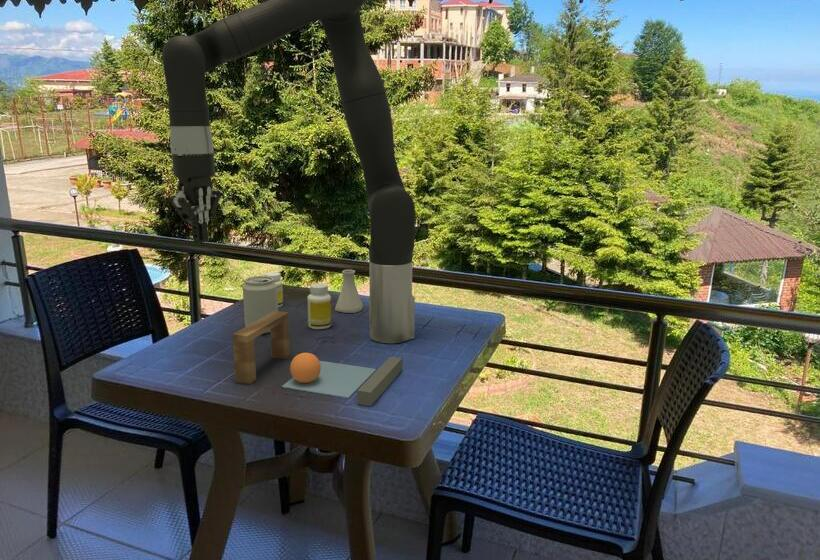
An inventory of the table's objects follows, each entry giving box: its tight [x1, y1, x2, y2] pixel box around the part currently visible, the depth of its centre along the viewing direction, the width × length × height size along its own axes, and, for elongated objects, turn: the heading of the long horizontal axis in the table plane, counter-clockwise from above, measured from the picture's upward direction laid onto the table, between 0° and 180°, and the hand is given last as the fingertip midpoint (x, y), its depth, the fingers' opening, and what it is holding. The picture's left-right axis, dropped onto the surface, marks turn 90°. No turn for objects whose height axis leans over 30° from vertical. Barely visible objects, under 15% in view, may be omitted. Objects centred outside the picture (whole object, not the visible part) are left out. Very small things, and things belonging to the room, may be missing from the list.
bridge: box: [232, 310, 291, 385], centre depth 115 cm, size 3×14×9 cm, turn 161°
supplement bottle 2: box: [306, 282, 333, 330], centre depth 139 cm, size 5×5×10 cm
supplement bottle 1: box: [263, 271, 284, 308], centre depth 154 cm, size 5×5×8 cm
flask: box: [334, 269, 364, 314], centre depth 152 cm, size 7×7×10 cm
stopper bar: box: [356, 356, 403, 407], centre depth 109 cm, size 2×16×2 cm, turn 162°
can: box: [242, 275, 279, 335], centre depth 136 cm, size 8×8×12 cm
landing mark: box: [281, 360, 377, 399], centre depth 112 cm, size 13×13×1 cm
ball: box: [289, 352, 321, 383], centre depth 110 cm, size 6×6×6 cm
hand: (200, 241), depth 118 cm, fingers closed
